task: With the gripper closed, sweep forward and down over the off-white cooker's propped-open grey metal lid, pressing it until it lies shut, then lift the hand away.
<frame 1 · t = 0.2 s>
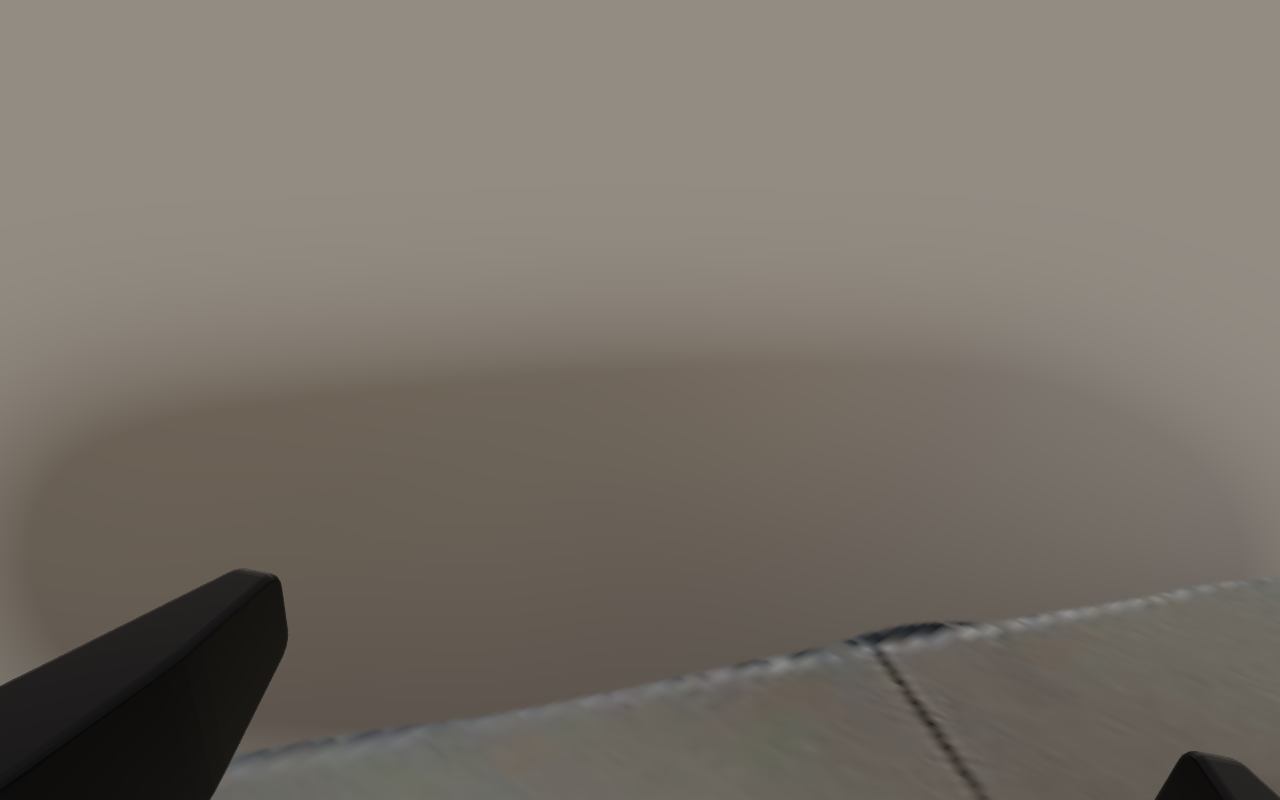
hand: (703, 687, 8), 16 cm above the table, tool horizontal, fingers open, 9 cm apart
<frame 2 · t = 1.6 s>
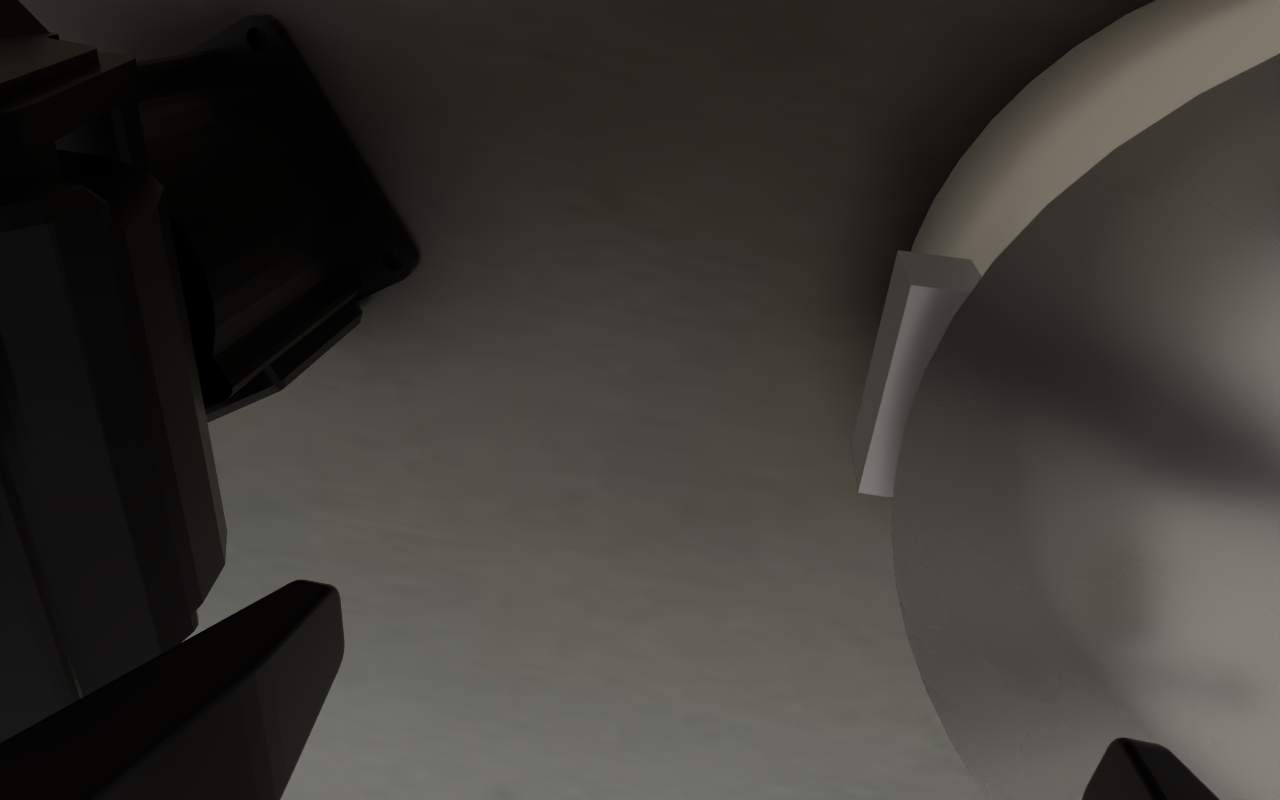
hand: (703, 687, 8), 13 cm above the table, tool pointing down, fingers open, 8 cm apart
cooker body: (1241, 328, 19), on the table
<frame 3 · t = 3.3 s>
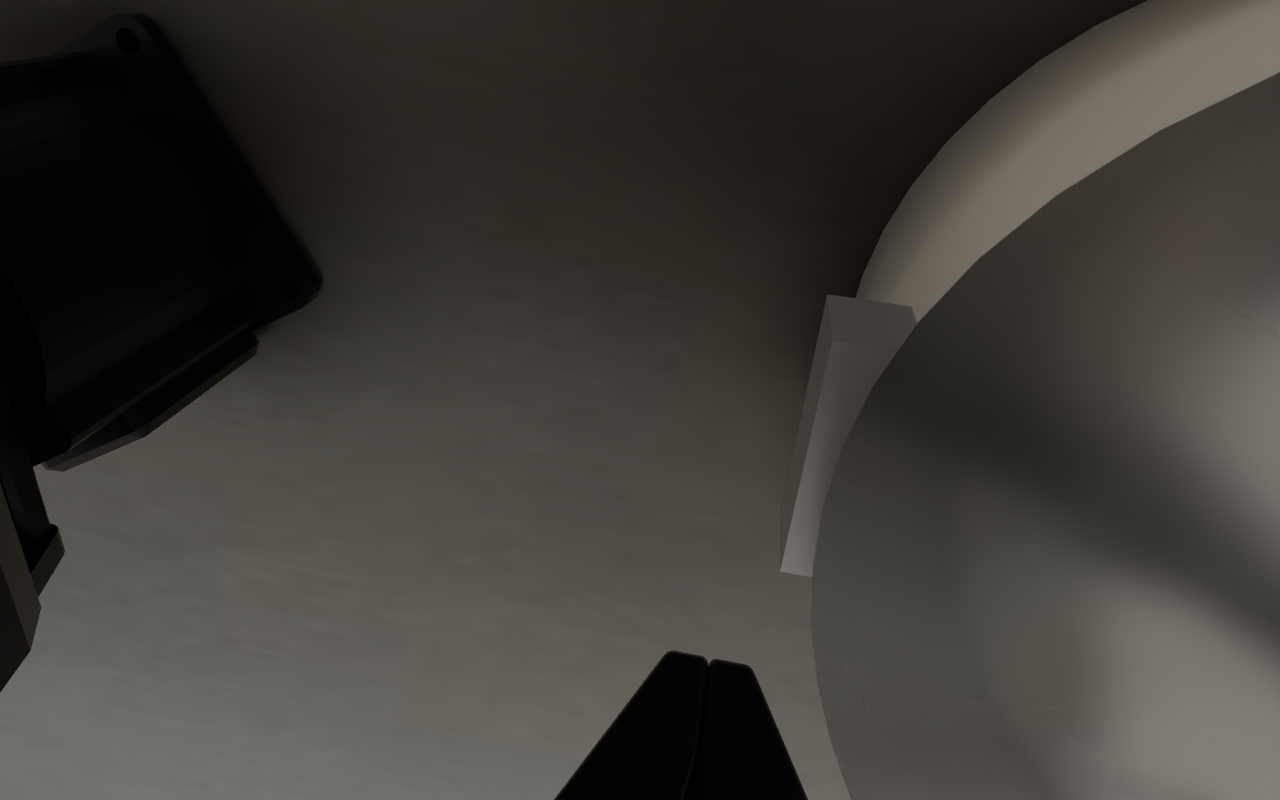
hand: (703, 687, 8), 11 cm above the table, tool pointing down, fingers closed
cooker body: (1227, 376, 17), on the table
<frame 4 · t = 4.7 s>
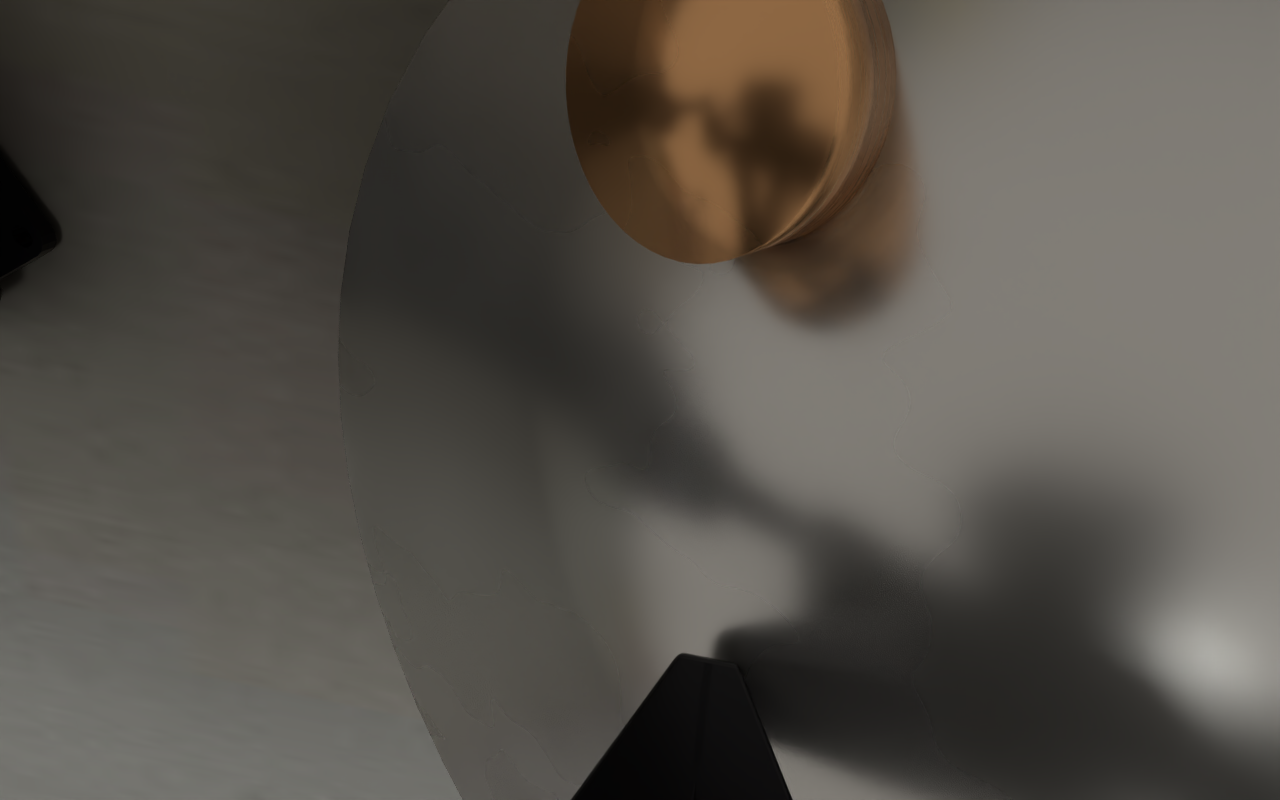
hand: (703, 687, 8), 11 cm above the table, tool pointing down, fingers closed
cooker lid: (881, 778, 8), point 11 cm above the table, hinge at 30.9°, touching gripper
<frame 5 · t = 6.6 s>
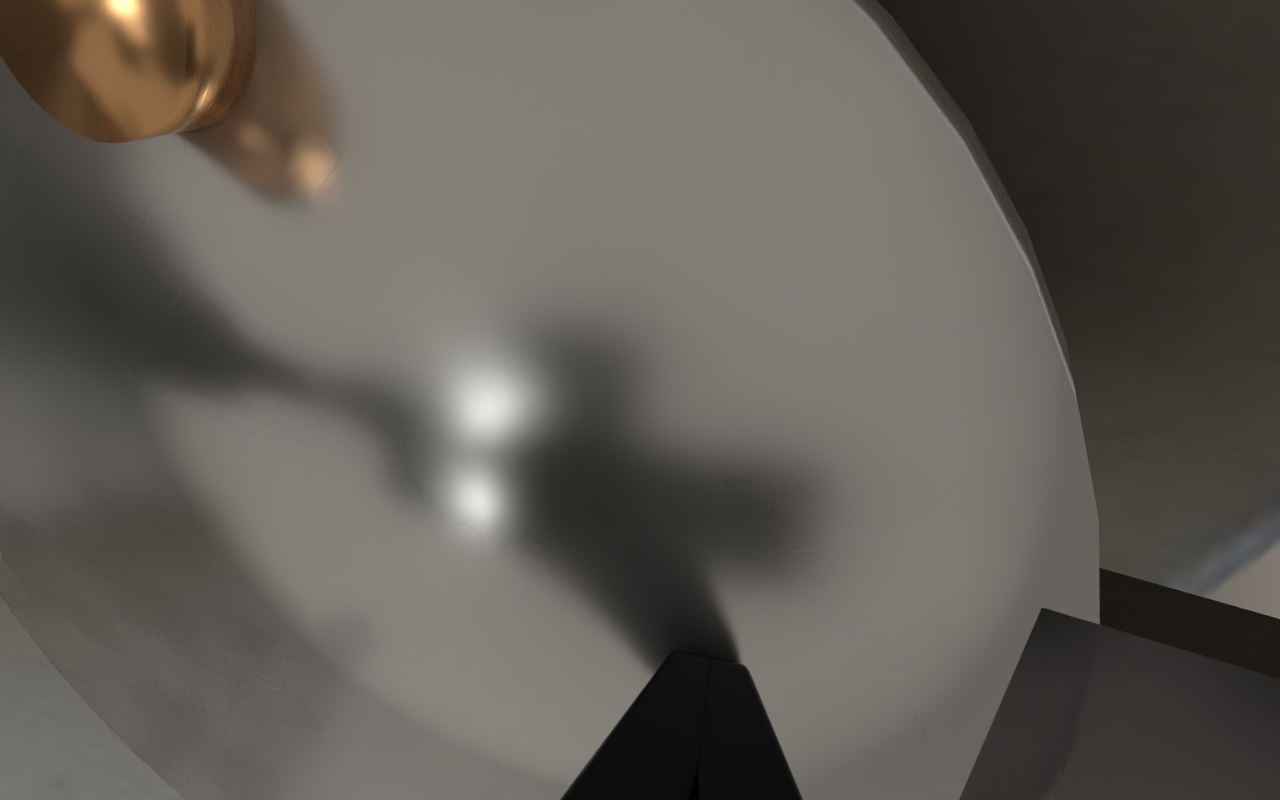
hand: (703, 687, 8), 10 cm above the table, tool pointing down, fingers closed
cooker lid: (417, 558, 10), point 9 cm above the table, hinge at 11.5°, touching gripper
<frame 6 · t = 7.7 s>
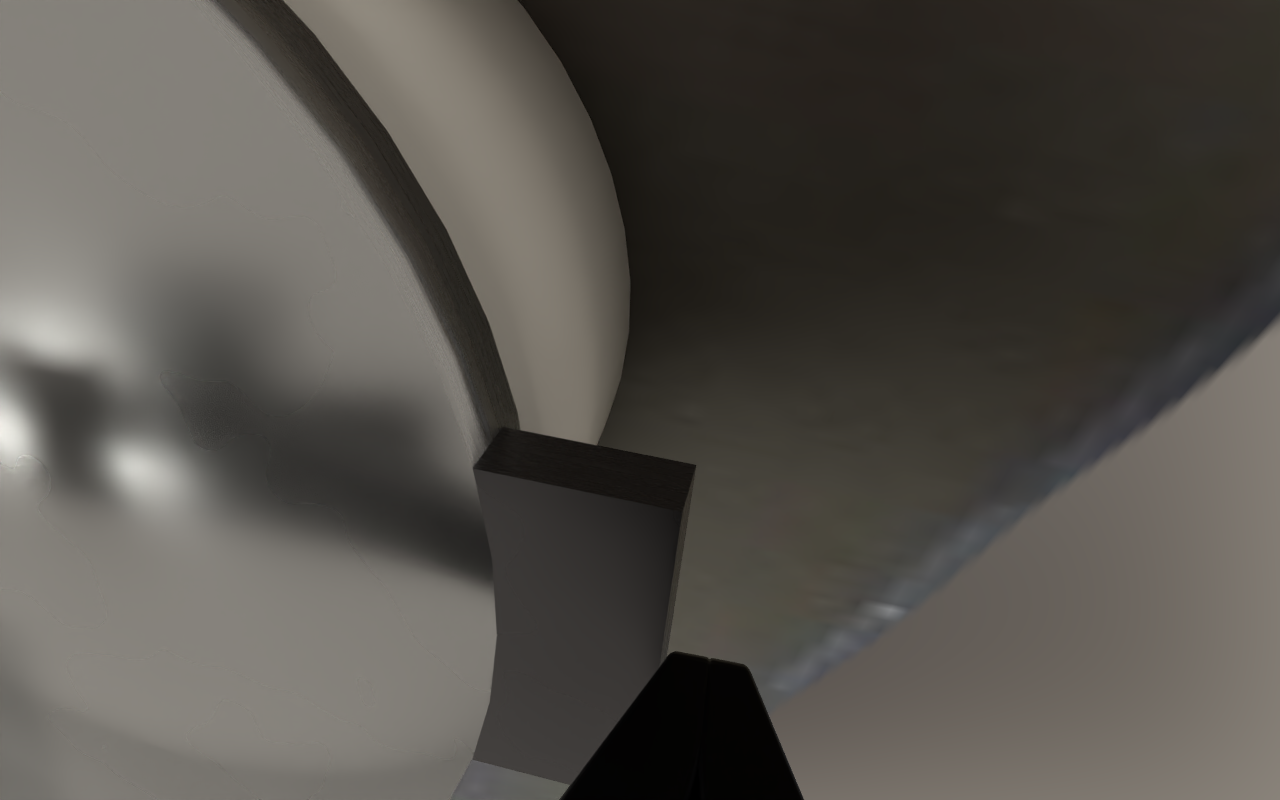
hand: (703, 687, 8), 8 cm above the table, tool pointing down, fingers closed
cooker body: (252, 273, 16), on the table
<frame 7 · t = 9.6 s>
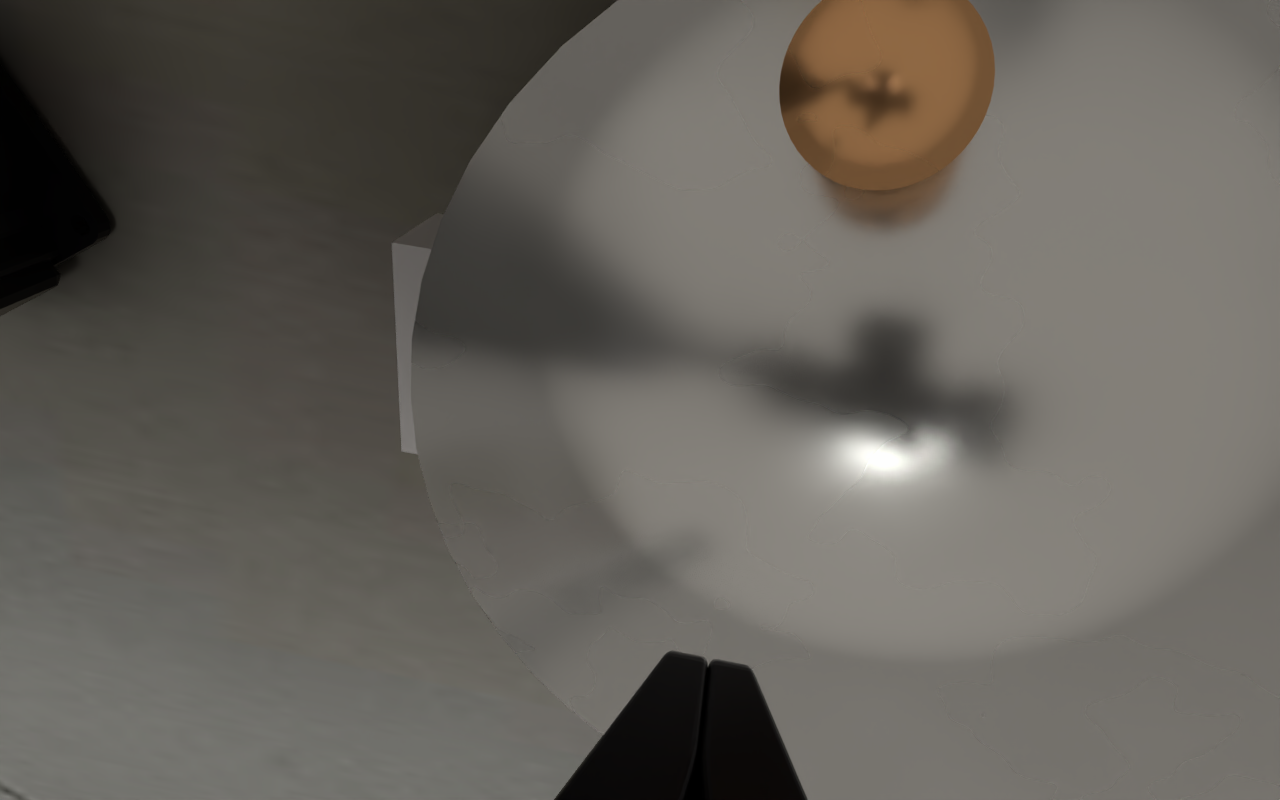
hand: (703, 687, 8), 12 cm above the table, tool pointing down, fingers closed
cooker lid: (959, 503, 12), point 8 cm above the table, hinge at 2.9°
cooker body: (876, 308, 19), on the table
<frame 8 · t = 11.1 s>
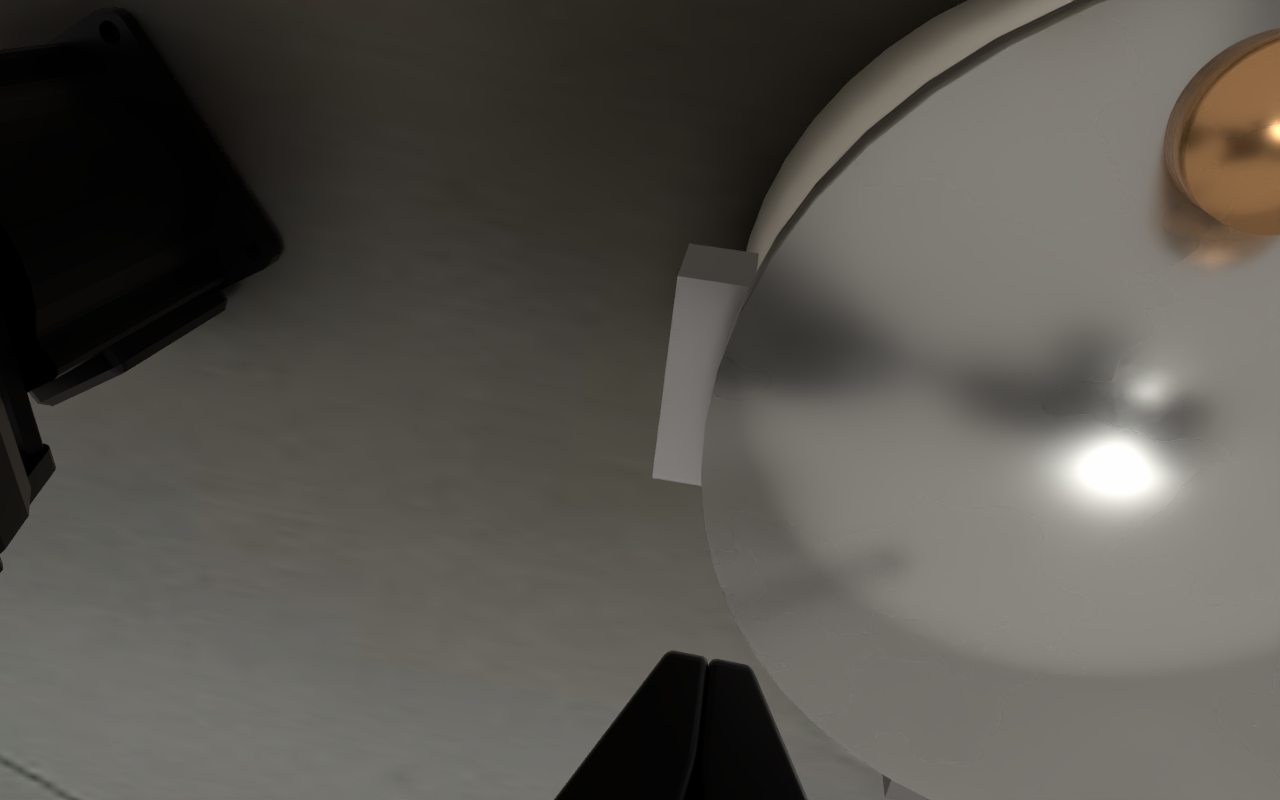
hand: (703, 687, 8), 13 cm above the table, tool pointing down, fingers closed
cooker lid: (1263, 525, 13), point 8 cm above the table, hinge at 2.9°
cooker body: (1065, 326, 19), on the table
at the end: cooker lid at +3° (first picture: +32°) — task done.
